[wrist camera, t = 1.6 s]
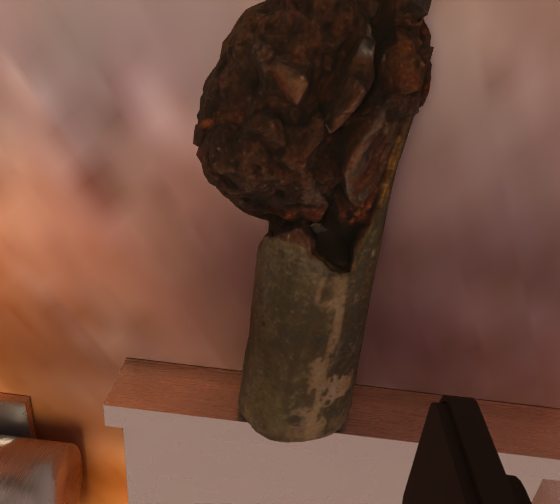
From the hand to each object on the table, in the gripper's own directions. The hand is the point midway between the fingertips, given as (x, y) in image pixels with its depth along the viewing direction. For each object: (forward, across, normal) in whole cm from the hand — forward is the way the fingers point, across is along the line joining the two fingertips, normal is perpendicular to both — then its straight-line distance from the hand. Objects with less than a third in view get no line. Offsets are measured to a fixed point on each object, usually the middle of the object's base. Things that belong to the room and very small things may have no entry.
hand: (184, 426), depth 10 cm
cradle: (+12, -5, +15) cm, 20 cm away
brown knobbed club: (+12, -2, 0) cm, 12 cm away
